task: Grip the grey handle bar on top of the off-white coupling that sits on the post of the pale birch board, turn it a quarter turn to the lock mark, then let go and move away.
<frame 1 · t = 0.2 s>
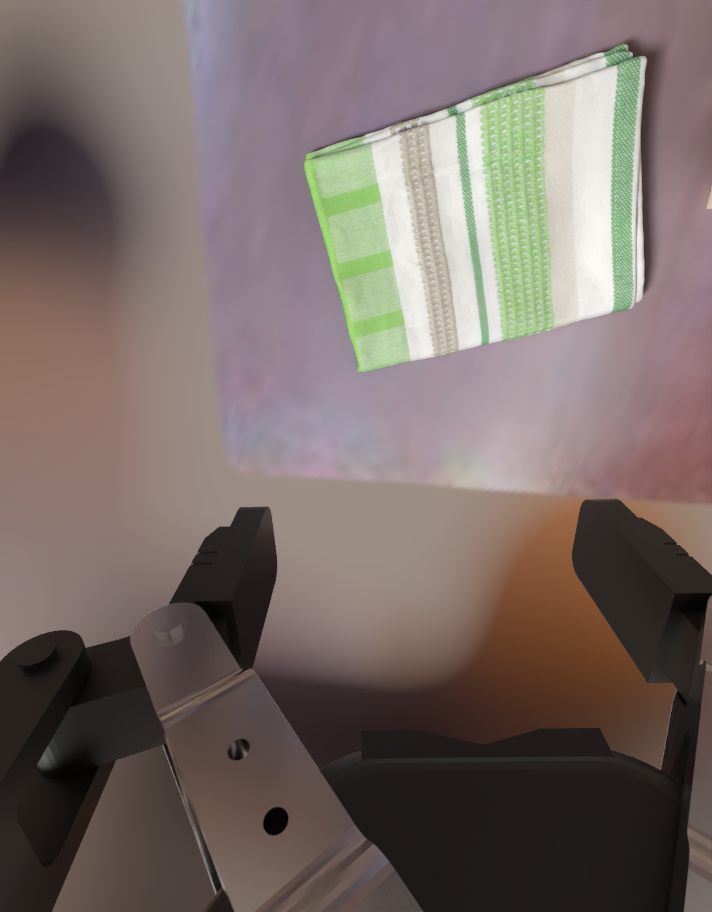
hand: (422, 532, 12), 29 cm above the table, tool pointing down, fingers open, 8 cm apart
dish towel: (474, 234, 36), on the table
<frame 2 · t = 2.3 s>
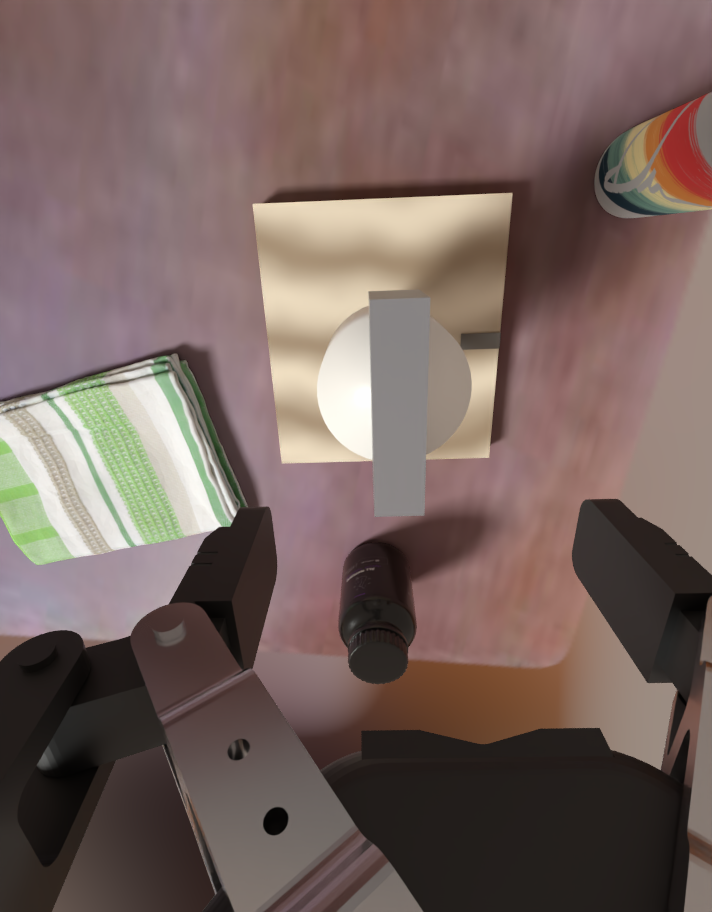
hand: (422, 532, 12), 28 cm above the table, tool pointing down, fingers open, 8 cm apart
lotion bottle: (631, 174, 33), on the table
post board: (382, 339, 38), on the table
supplement bottle: (375, 566, 47), on the table
dish towel: (110, 465, 44), on the table
coupling: (393, 389, 24), point 15 cm above the table, hinge at 0.0°
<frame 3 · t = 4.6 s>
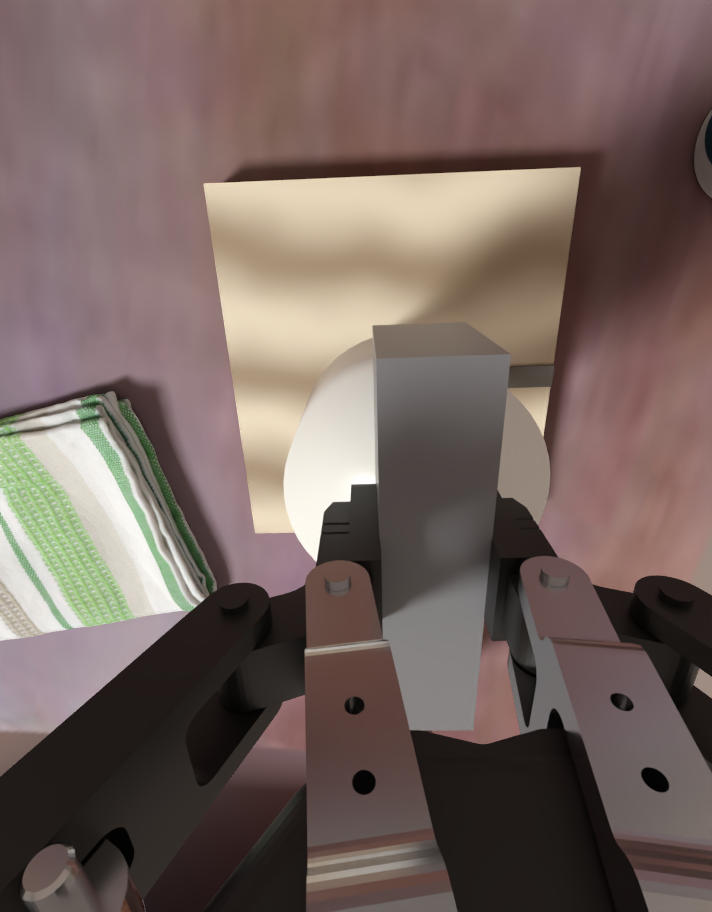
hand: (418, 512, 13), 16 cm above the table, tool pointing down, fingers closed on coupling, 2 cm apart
post board: (389, 371, 28), on the table
dish towel: (38, 528, 34), on the table
coupling: (413, 486, 14), point 15 cm above the table, hinge at 0.0°, touching gripper
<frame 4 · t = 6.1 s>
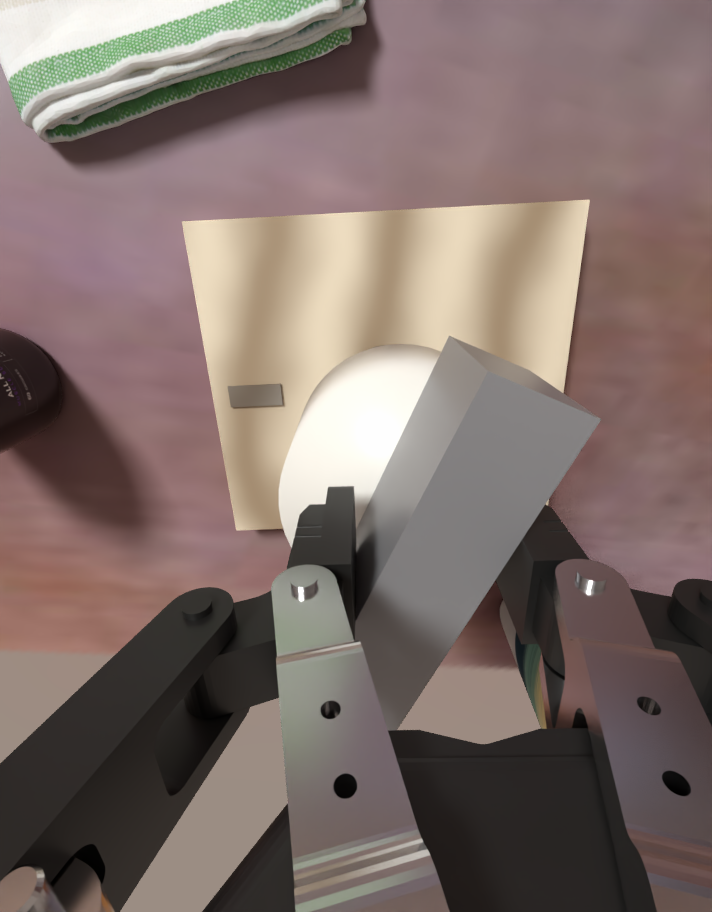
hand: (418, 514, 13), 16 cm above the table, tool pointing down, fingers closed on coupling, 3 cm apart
lotion bottle: (534, 605, 35), on the table
post board: (385, 380, 28), on the table
supplement bottle: (12, 380, 28), on the table
coupling: (408, 498, 14), point 15 cm above the table, hinge at 65.1°, touching gripper
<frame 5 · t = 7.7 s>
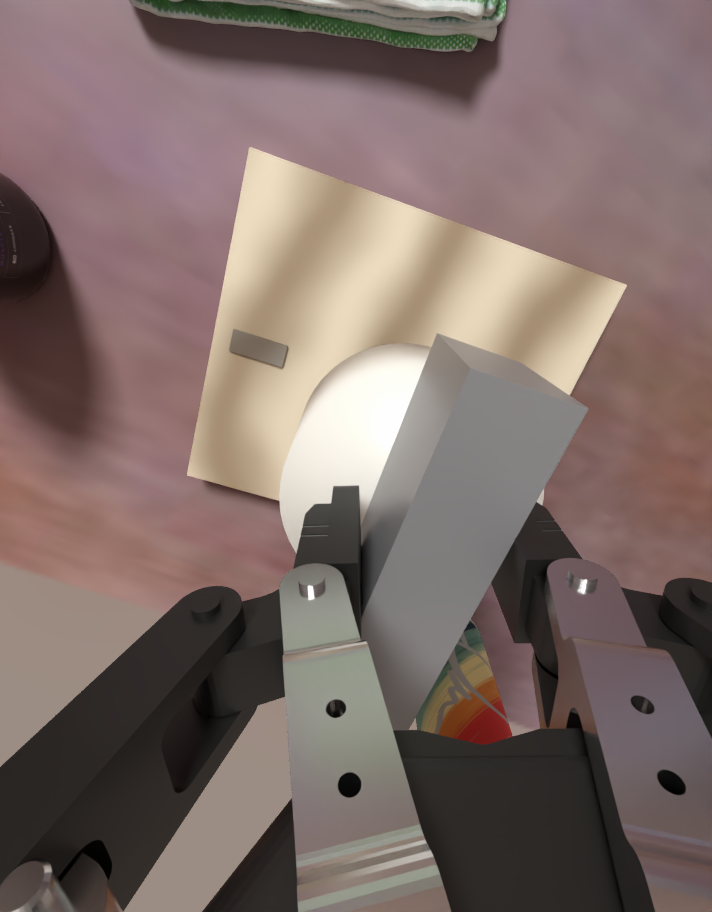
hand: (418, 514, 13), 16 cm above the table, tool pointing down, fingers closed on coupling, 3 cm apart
lotion bottle: (442, 634, 36), on the table
post board: (385, 379, 28), on the table
coupling: (409, 497, 15), point 15 cm above the table, hinge at 89.3°, touching gripper
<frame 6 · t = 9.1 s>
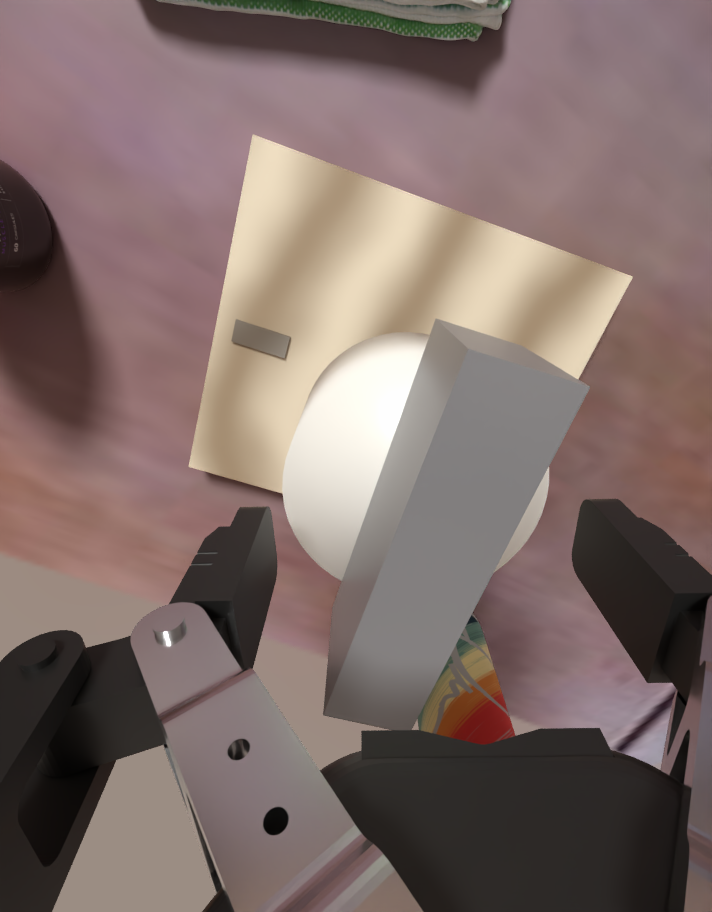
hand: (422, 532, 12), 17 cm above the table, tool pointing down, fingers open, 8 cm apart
lotion bottle: (443, 627, 36), on the table
post board: (388, 371, 28), on the table
coupling: (412, 486, 14), point 15 cm above the table, hinge at 91.3°
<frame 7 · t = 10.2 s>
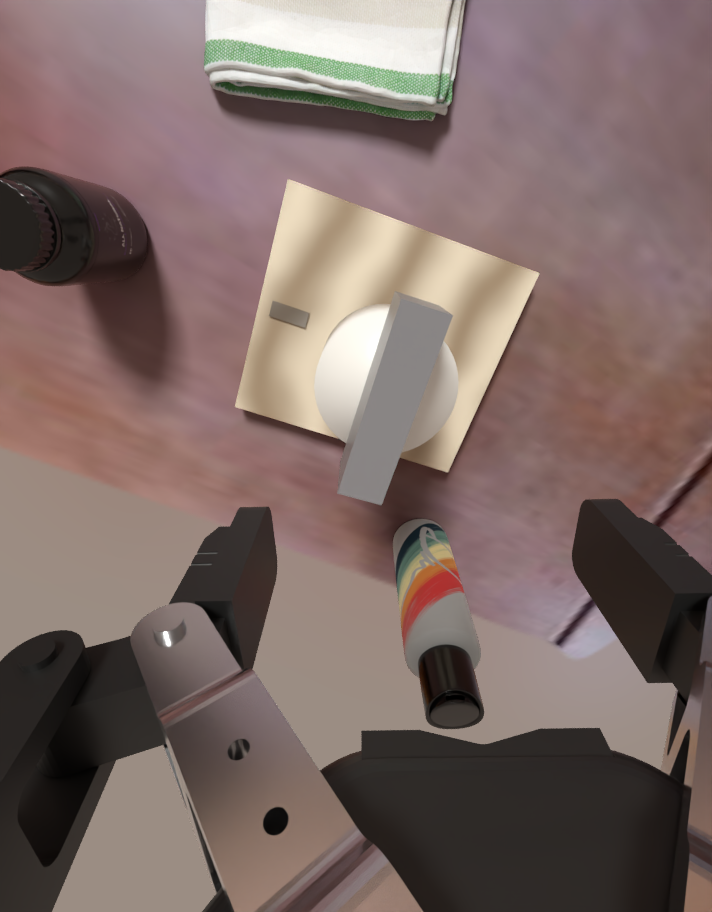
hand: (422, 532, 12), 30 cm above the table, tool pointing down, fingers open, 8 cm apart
lotion bottle: (419, 539, 48), on the table
post board: (377, 339, 40), on the table
supplement bottle: (108, 234, 37), on the table
coupling: (385, 386, 26), point 15 cm above the table, hinge at 91.4°
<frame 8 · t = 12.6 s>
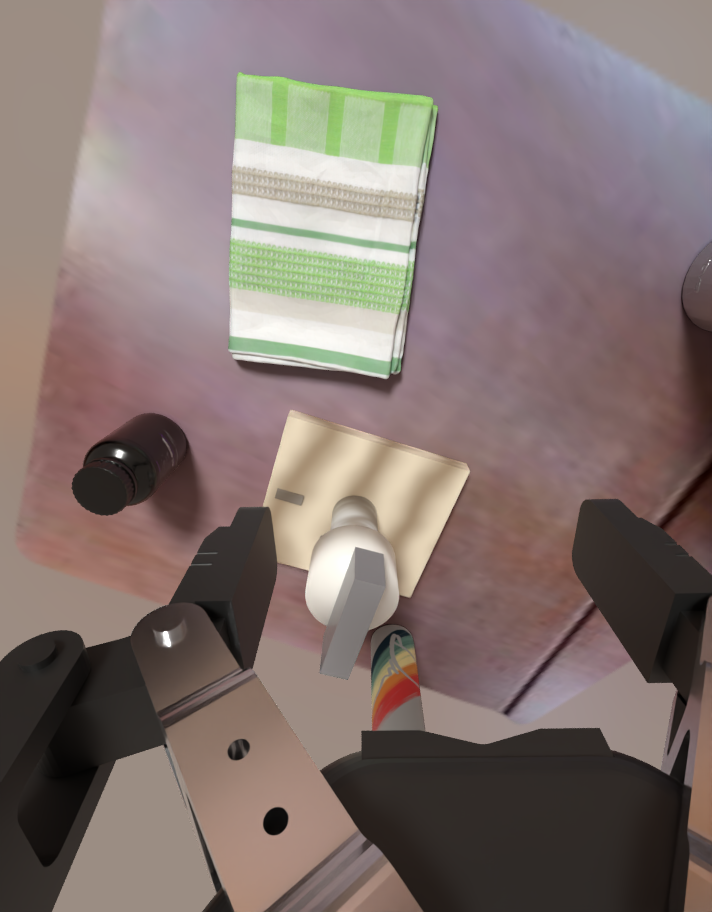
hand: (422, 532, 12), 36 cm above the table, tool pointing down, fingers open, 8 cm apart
lotion bottle: (391, 638, 62), on the table
post board: (354, 505, 53), on the table
supplement bottle: (157, 439, 50), on the table
dish towel: (325, 243, 43), on the table
coupling: (352, 592, 40), point 15 cm above the table, hinge at 91.4°
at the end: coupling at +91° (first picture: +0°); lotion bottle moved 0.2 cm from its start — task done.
